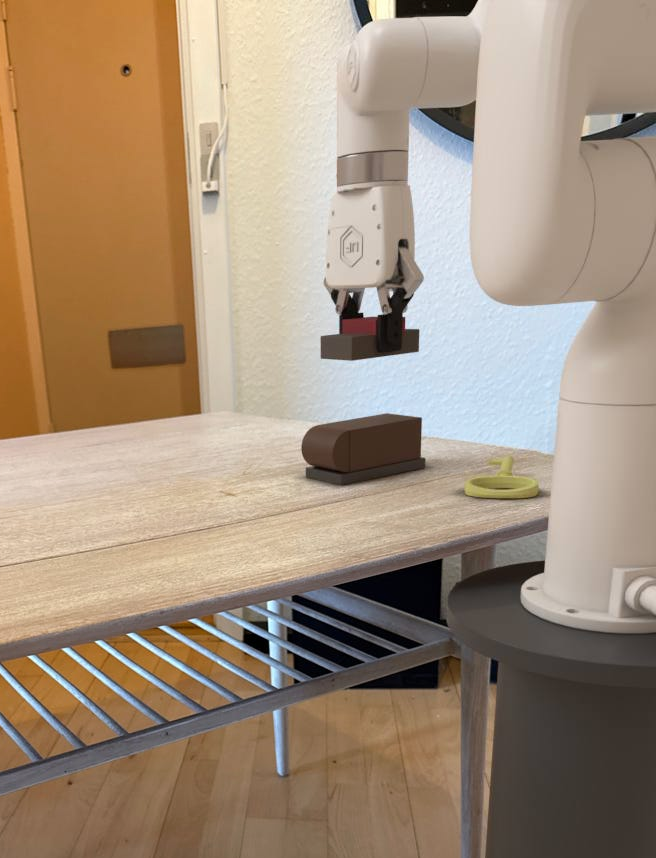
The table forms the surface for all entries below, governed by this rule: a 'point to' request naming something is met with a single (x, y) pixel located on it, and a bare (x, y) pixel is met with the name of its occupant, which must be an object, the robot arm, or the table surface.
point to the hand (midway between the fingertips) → (369, 348)
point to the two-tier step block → (363, 341)
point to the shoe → (363, 448)
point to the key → (502, 483)
